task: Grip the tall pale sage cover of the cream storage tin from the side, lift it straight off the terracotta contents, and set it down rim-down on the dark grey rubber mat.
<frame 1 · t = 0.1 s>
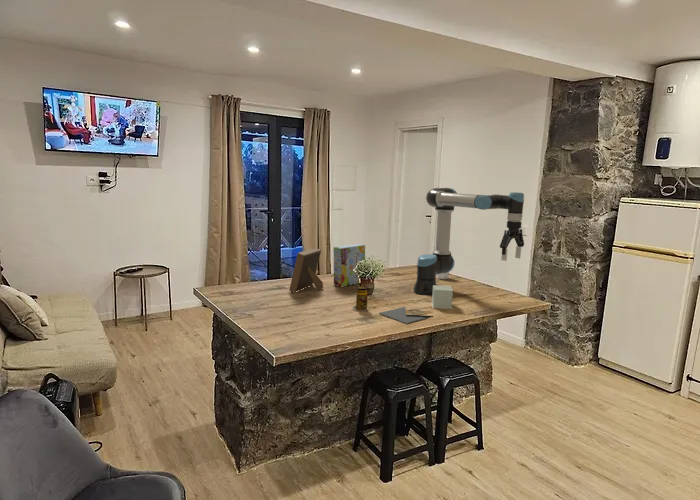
hand: (510, 259, 256), 28 cm above the table, tool pointing down, fingers open, 13 cm apart
condiment: (360, 309, 253), on the table
rubber mat: (405, 315, 242), on the table
jar: (442, 278, 330), on the table
tin cover: (441, 305, 257), point 1 cm above the table, touching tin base
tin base: (441, 308, 257), on the table
photo frame: (308, 290, 289), on the table
snack box: (349, 284, 307), on the table
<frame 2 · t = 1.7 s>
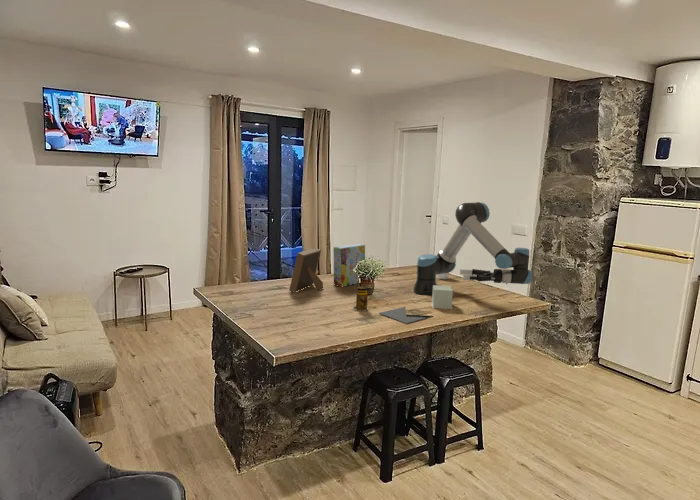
hand: (461, 274, 253), 20 cm above the table, tool horizontal, fingers open, 13 cm apart
nothing on the table moved.
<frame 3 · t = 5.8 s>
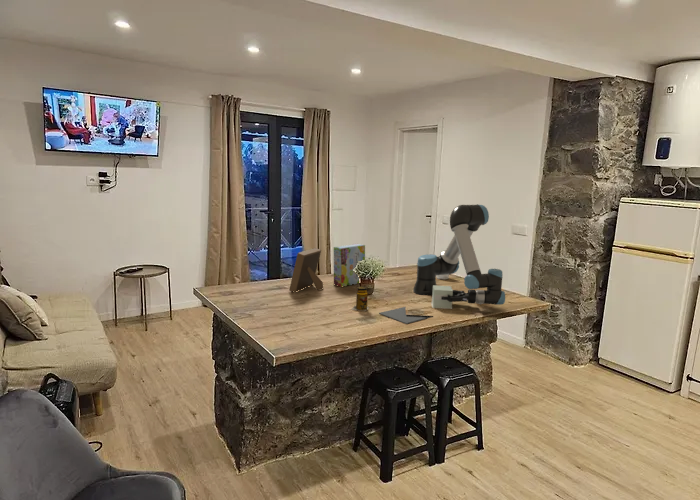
hand: (434, 294, 256), 7 cm above the table, tool horizontal, fingers closed on tin cover, 10 cm apart
tin cover: (441, 305, 257), point 2 cm above the table, touching gripper, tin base
everything else where it was.
when the fingers open (8 cm above the table, at t = 11.9 s): tin cover drops 1 cm, resting on rubber mat.
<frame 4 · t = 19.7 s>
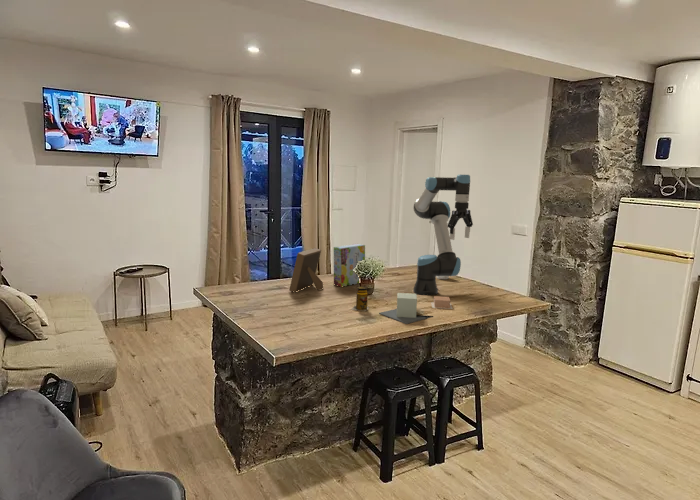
hand: (459, 238, 268), 37 cm above the table, tool pointing down, fingers open, 13 cm apart
tin cover: (406, 314, 242), point 1 cm above the table, touching rubber mat
everything else where it was.
at the end: tin cover inside the target area on the rubber mat (0.1 cm from its centre), point 0.6 cm above the rubber mat's base; tin cover tilted 0°; the gripper is holding nothing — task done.
